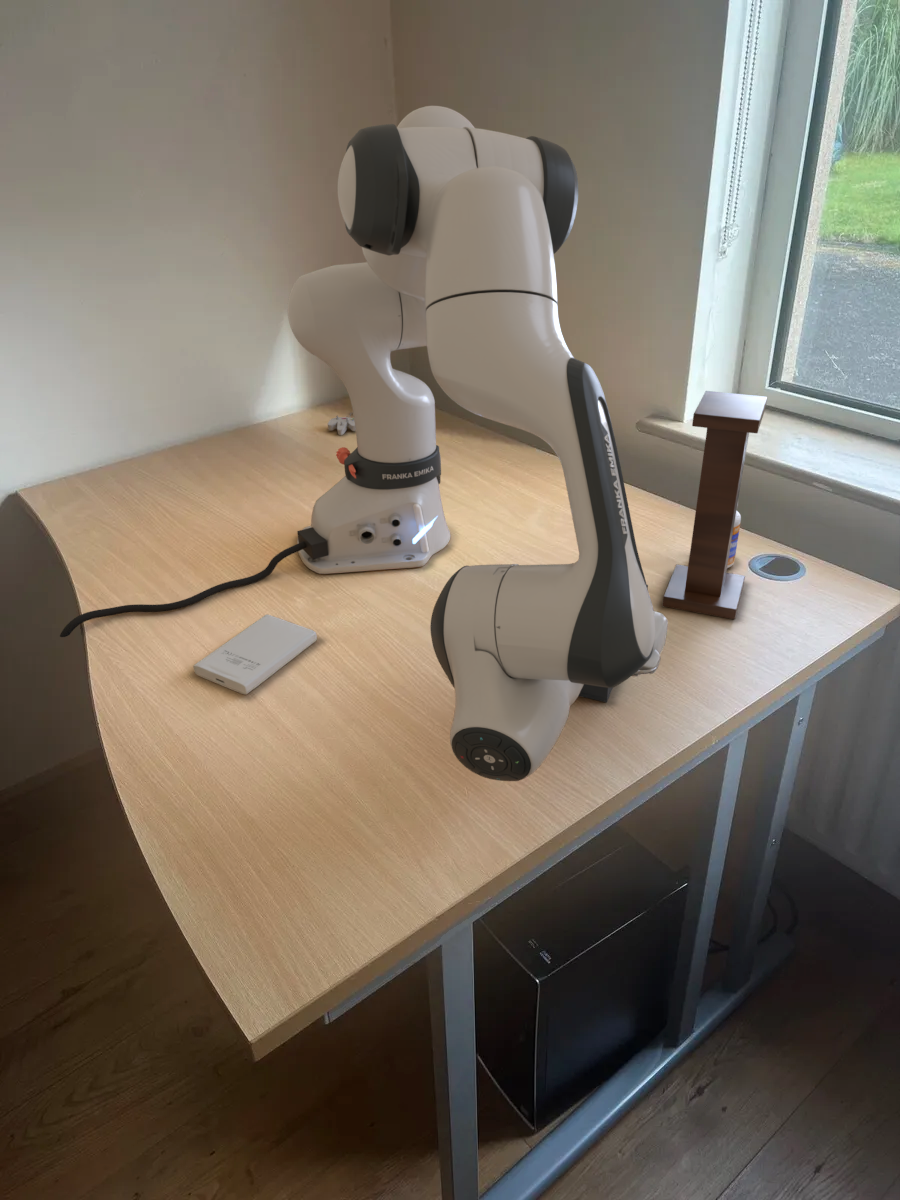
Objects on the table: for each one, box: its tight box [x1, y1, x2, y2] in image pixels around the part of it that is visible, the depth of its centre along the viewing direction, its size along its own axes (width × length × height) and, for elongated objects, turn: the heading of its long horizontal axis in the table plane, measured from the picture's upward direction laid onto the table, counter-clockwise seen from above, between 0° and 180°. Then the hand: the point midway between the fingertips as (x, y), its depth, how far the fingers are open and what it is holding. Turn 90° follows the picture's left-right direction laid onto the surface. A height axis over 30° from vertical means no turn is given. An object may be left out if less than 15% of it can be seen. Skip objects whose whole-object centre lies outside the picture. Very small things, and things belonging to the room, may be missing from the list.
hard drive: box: [192, 614, 318, 696], centre depth 102 cm, size 2×8×12 cm
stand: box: [661, 390, 768, 620], centre depth 105 cm, size 10×9×26 cm
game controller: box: [327, 412, 356, 436], centre depth 169 cm, size 6×12×3 cm, turn 12°
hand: (584, 587), depth 95 cm, fingers open, 8 cm apart
